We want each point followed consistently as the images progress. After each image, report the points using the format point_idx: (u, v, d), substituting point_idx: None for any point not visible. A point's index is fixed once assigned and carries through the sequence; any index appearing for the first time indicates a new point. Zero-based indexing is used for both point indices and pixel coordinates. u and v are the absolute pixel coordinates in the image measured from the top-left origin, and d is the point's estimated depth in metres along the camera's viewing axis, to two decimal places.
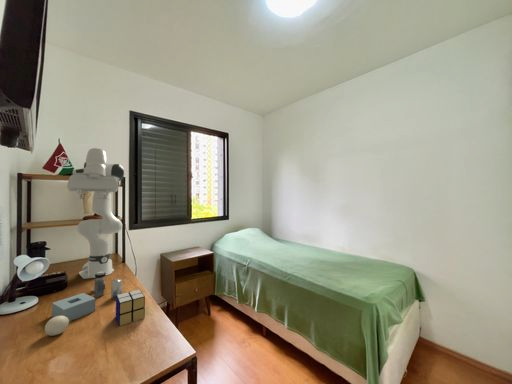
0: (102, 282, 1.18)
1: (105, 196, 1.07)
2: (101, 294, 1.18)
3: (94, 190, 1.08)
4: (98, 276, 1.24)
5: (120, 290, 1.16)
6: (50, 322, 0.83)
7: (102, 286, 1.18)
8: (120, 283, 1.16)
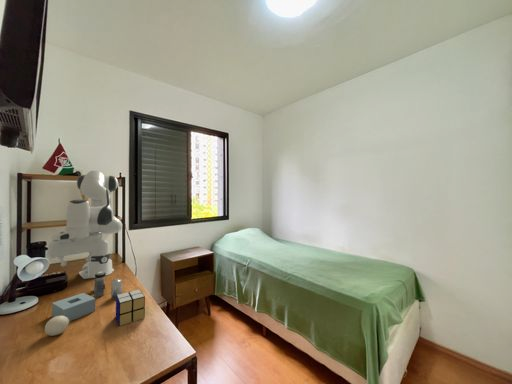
0: (102, 282, 1.18)
1: (89, 259, 1.04)
2: (101, 294, 1.18)
3: None
4: (98, 276, 1.24)
5: (120, 290, 1.16)
6: (50, 322, 0.83)
7: (102, 286, 1.18)
8: (120, 283, 1.16)
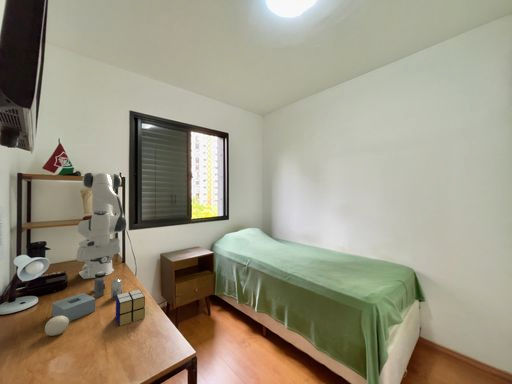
0: (102, 282, 1.18)
1: (109, 262, 1.22)
2: (101, 294, 1.18)
3: None
4: (98, 276, 1.24)
5: (120, 290, 1.16)
6: (50, 322, 0.83)
7: (102, 286, 1.18)
8: (120, 283, 1.16)
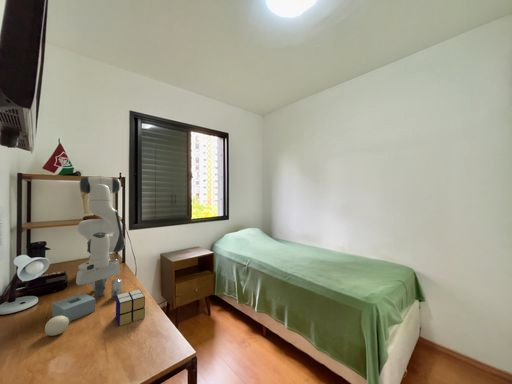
0: (102, 282, 1.18)
1: (104, 285, 1.20)
2: (101, 294, 1.18)
3: None
4: None
5: (120, 290, 1.16)
6: (50, 322, 0.83)
7: (102, 286, 1.18)
8: (120, 283, 1.16)
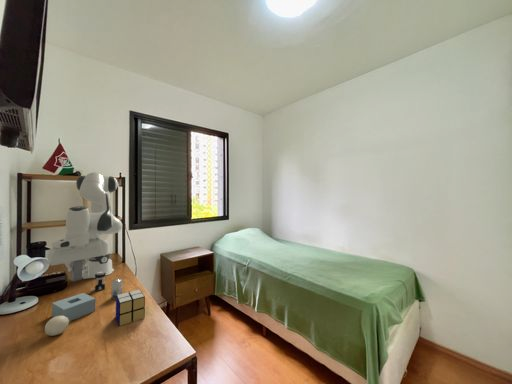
0: (80, 263, 1.01)
1: (83, 267, 1.03)
2: (79, 277, 1.01)
3: None
4: (98, 276, 1.24)
5: (120, 290, 1.16)
6: (50, 322, 0.83)
7: (80, 268, 1.01)
8: (120, 283, 1.16)
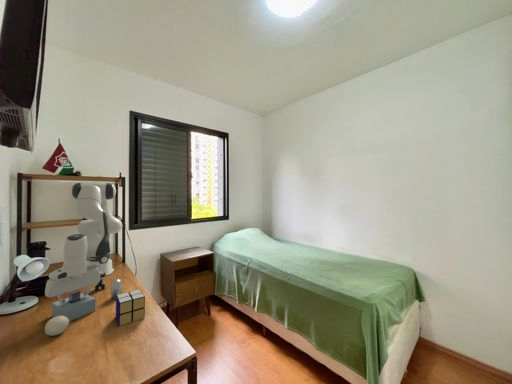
0: (78, 295, 1.00)
1: (87, 294, 1.04)
2: None
3: None
4: None
5: (120, 290, 1.16)
6: (50, 322, 0.83)
7: (78, 300, 1.00)
8: (120, 283, 1.16)
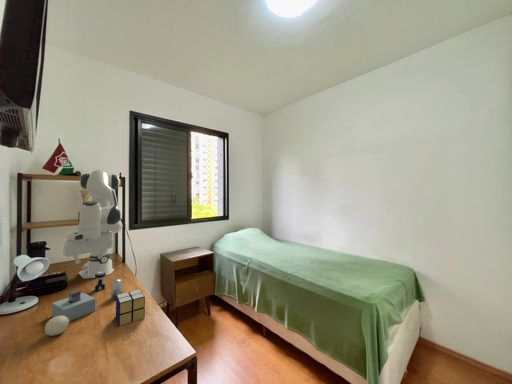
0: (78, 295, 1.00)
1: (101, 257, 1.12)
2: None
3: None
4: (98, 276, 1.24)
5: (120, 290, 1.16)
6: (50, 322, 0.83)
7: (78, 300, 1.00)
8: (120, 283, 1.16)
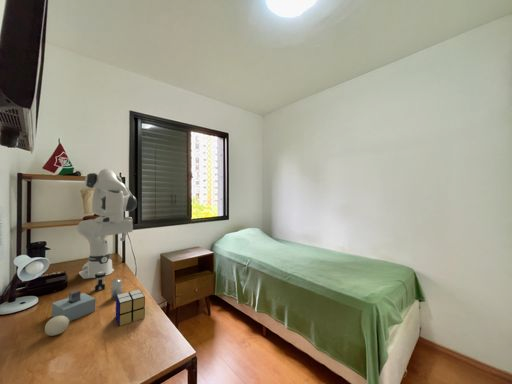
0: (78, 295, 1.00)
1: (123, 239, 1.25)
2: None
3: None
4: (98, 276, 1.24)
5: (120, 290, 1.16)
6: (50, 322, 0.83)
7: (78, 300, 1.00)
8: (119, 283, 1.16)
